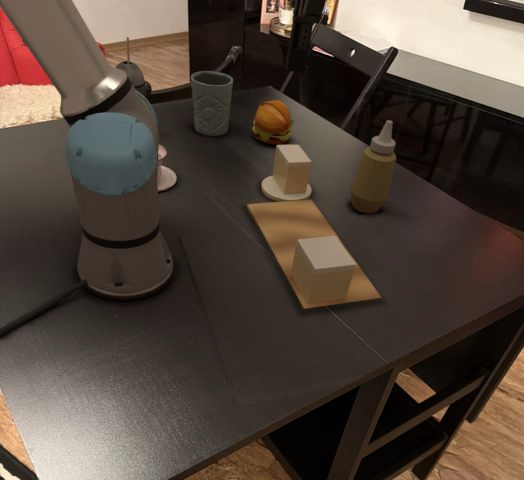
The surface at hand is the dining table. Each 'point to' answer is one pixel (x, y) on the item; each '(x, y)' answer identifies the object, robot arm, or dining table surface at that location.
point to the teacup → (164, 172)
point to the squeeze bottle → (374, 173)
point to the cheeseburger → (272, 123)
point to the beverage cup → (133, 72)
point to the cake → (322, 269)
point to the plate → (276, 194)
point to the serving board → (302, 227)
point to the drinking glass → (211, 102)
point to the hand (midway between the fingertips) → (294, 69)
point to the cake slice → (291, 169)
